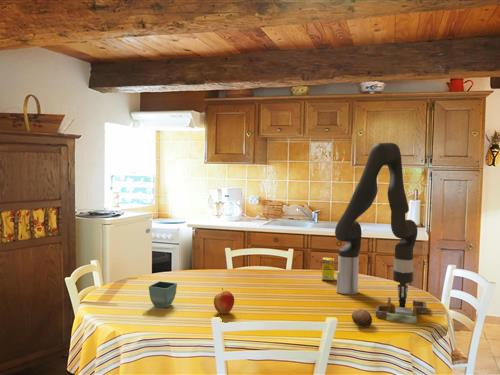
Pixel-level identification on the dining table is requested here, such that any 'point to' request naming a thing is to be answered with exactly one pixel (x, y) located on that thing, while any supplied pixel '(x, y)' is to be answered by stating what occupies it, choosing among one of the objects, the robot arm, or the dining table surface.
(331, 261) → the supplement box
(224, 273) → the dining table surface
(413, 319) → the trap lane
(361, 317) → the brown oval ball
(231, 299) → the apple
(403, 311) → the block
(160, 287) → the flower pot
